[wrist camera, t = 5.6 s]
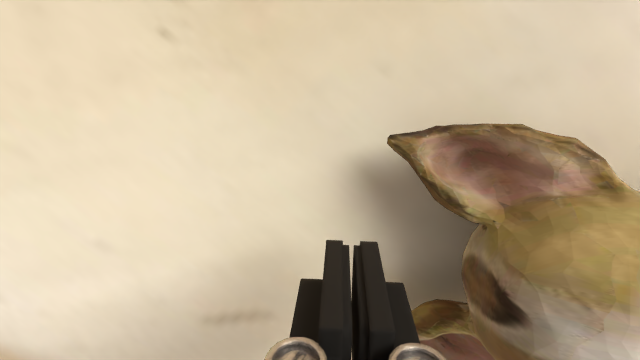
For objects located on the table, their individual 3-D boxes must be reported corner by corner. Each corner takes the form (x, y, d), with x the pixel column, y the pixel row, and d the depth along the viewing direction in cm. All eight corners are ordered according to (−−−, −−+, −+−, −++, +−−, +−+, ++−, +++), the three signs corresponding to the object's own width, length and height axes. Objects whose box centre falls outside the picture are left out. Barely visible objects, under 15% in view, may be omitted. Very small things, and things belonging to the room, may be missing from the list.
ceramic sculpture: (1037, 655, 8) (370, 544, 9) (684, 351, 16) (364, 318, 17) (1625, 231, 4) (419, 161, 6) (791, 125, 12) (383, 108, 14)
